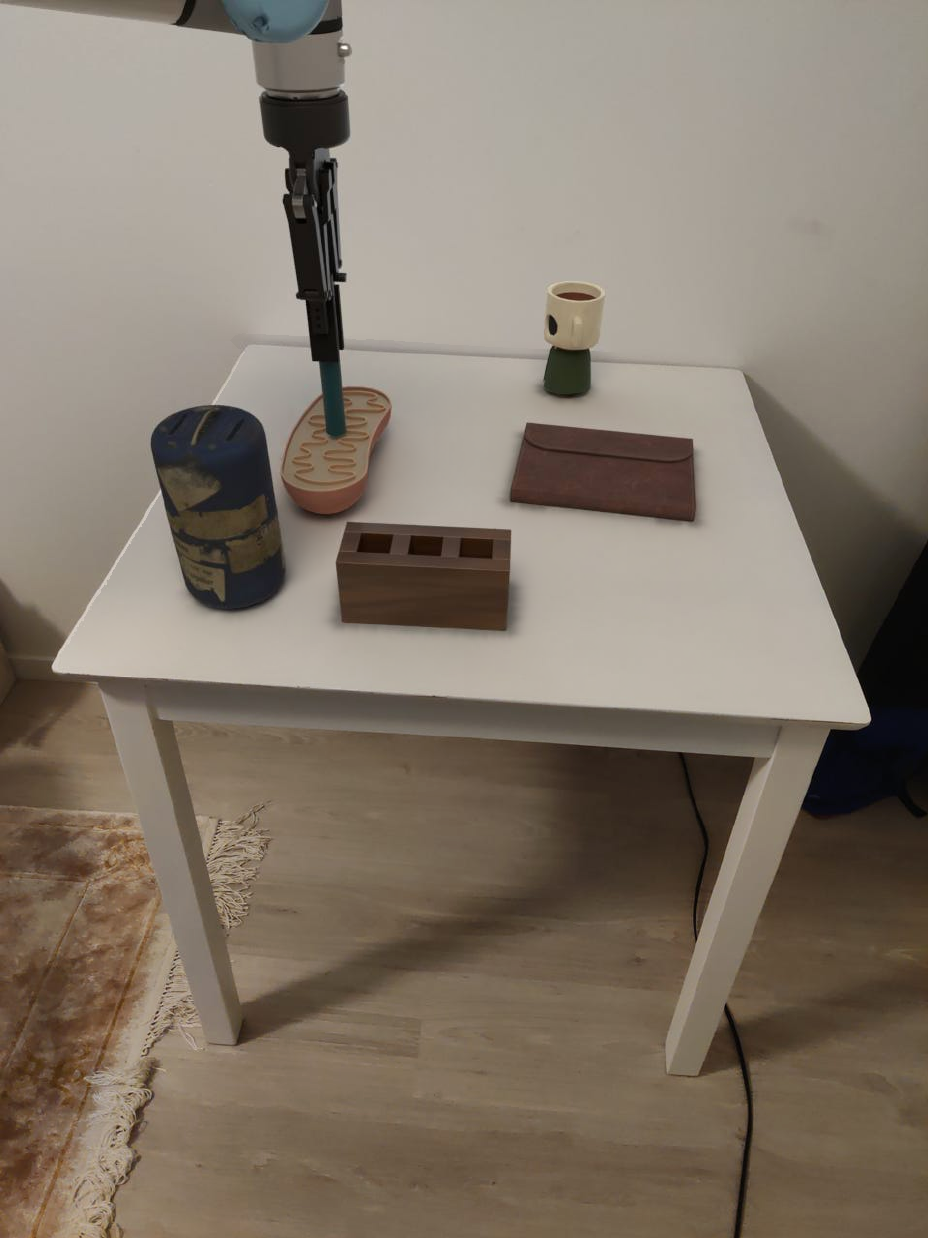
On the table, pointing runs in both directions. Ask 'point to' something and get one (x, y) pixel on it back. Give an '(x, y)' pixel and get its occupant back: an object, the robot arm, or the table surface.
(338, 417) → the pen
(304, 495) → the anatomical model
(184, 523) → the canister
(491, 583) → the pen holder
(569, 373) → the character mug
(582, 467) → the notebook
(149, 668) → the table surface
